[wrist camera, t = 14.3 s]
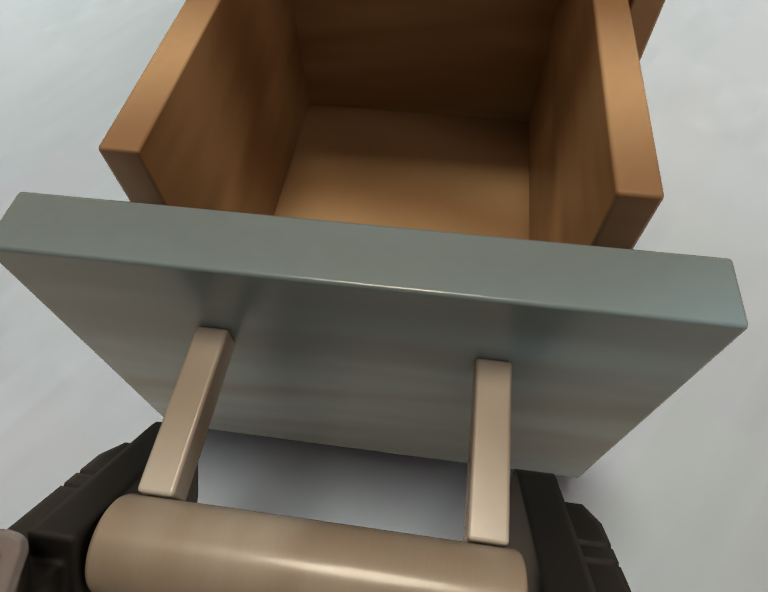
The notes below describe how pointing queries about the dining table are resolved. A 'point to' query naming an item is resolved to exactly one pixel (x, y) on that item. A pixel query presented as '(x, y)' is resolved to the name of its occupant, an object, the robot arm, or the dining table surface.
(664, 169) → the dining table surface
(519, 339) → the drawer
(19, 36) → the dining table surface
